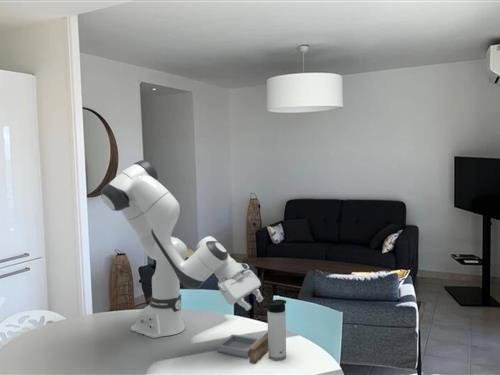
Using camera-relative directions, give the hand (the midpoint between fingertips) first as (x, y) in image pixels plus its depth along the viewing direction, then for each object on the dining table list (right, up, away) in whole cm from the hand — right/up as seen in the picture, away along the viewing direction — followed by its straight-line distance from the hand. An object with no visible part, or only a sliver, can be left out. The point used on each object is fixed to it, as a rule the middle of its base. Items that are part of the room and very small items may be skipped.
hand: (255, 304), depth 156 cm
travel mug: (+8, -18, -1) cm, 20 cm away
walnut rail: (+3, -18, +2) cm, 18 cm away
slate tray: (-6, -18, +5) cm, 19 cm away
